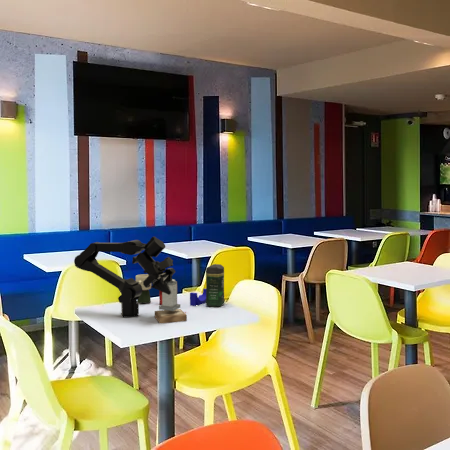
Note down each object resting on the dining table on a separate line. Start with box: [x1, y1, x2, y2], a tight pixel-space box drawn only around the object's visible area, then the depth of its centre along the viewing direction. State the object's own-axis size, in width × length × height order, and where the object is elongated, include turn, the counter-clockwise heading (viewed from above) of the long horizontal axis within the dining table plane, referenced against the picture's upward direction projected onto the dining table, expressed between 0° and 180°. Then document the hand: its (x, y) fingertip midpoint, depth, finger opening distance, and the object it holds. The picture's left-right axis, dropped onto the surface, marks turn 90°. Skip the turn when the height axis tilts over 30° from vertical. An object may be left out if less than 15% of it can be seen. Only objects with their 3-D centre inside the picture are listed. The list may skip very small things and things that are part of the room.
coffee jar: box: [205, 263, 225, 308], centre depth 247 cm, size 10×8×19 cm
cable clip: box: [189, 288, 206, 307], centre depth 251 cm, size 12×4×6 cm, turn 147°
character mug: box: [135, 273, 152, 304], centre depth 253 cm, size 11×7×13 cm, turn 166°
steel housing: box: [158, 280, 181, 311], centre depth 222 cm, size 6×6×11 cm
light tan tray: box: [154, 308, 188, 324], centre depth 222 cm, size 11×11×3 cm
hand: (172, 292), depth 221 cm, fingers closed on steel housing, 4 cm apart
